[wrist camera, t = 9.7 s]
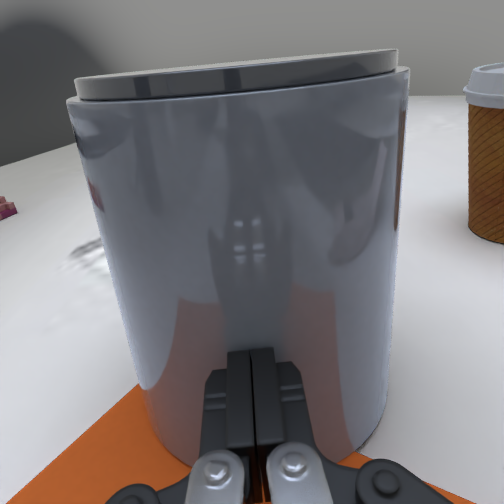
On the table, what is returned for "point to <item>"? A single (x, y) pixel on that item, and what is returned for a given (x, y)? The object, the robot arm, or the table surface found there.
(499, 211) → the disposable coffee cup
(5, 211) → the red flat knobbed bar
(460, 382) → the table surface
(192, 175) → the crock
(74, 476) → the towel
